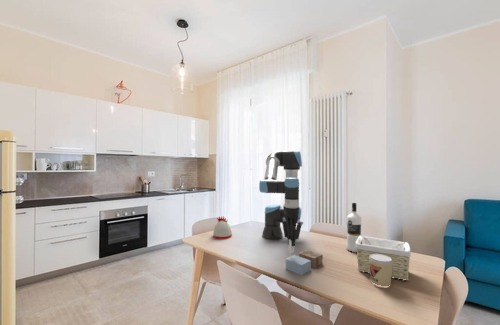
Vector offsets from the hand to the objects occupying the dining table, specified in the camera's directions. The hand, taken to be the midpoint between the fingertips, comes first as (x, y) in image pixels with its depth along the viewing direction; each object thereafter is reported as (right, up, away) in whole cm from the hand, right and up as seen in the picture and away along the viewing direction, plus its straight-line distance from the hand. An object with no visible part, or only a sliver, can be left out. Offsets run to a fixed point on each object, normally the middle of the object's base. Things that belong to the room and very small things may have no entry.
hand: (291, 251), depth 126 cm
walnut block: (+8, -6, +9) cm, 13 cm away
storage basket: (+46, -9, -4) cm, 47 cm away
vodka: (+44, -9, +25) cm, 51 cm away
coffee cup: (+38, -8, -17) cm, 42 cm away
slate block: (-1, -6, +1) cm, 6 cm away
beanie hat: (-42, -8, +53) cm, 68 cm away
